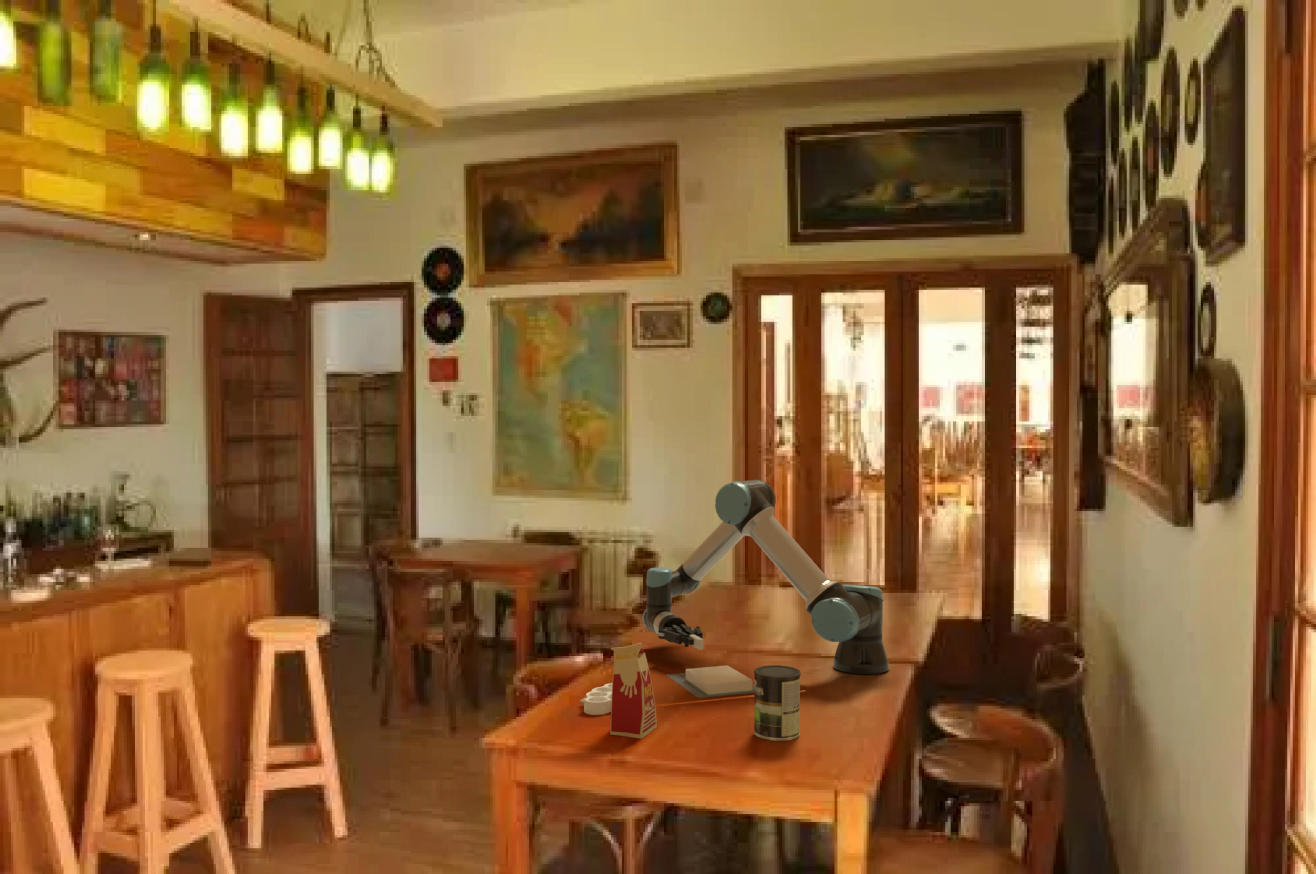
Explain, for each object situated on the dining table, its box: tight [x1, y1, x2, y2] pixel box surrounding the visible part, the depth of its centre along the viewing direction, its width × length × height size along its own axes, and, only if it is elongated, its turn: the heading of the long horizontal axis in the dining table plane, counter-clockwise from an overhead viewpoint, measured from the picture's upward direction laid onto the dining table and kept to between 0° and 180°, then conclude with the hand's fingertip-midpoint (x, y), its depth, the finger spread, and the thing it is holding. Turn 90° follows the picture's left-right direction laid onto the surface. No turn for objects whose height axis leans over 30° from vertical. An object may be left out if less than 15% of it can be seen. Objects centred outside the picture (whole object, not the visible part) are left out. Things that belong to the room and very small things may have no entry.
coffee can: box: [753, 664, 802, 742], centre depth 226 cm, size 10×10×14 cm
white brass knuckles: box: [579, 682, 612, 716], centre depth 249 cm, size 3×18×15 cm
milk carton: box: [609, 642, 658, 739], centre depth 229 cm, size 9×9×20 cm
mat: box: [666, 672, 755, 699], centre depth 268 cm, size 24×18×1 cm
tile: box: [685, 665, 753, 697], centre depth 264 cm, size 3×12×16 cm
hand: (700, 644), depth 275 cm, fingers closed
